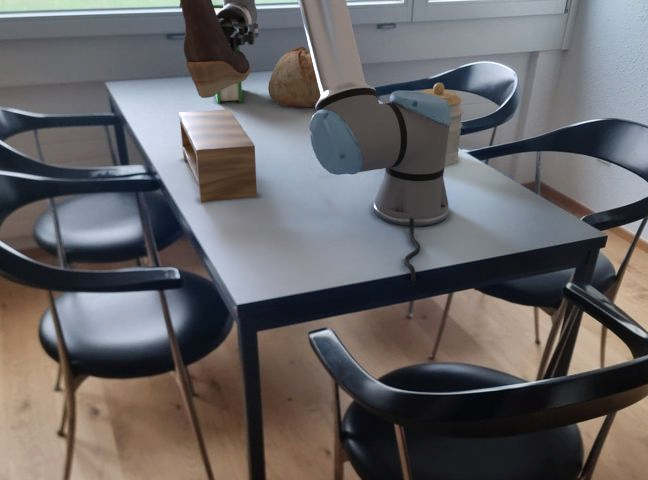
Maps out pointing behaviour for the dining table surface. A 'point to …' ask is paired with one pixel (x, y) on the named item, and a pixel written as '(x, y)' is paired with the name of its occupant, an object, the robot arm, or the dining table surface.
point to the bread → (295, 80)
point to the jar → (454, 119)
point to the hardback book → (234, 90)
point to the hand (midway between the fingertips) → (214, 43)
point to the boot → (210, 50)
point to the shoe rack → (218, 155)
